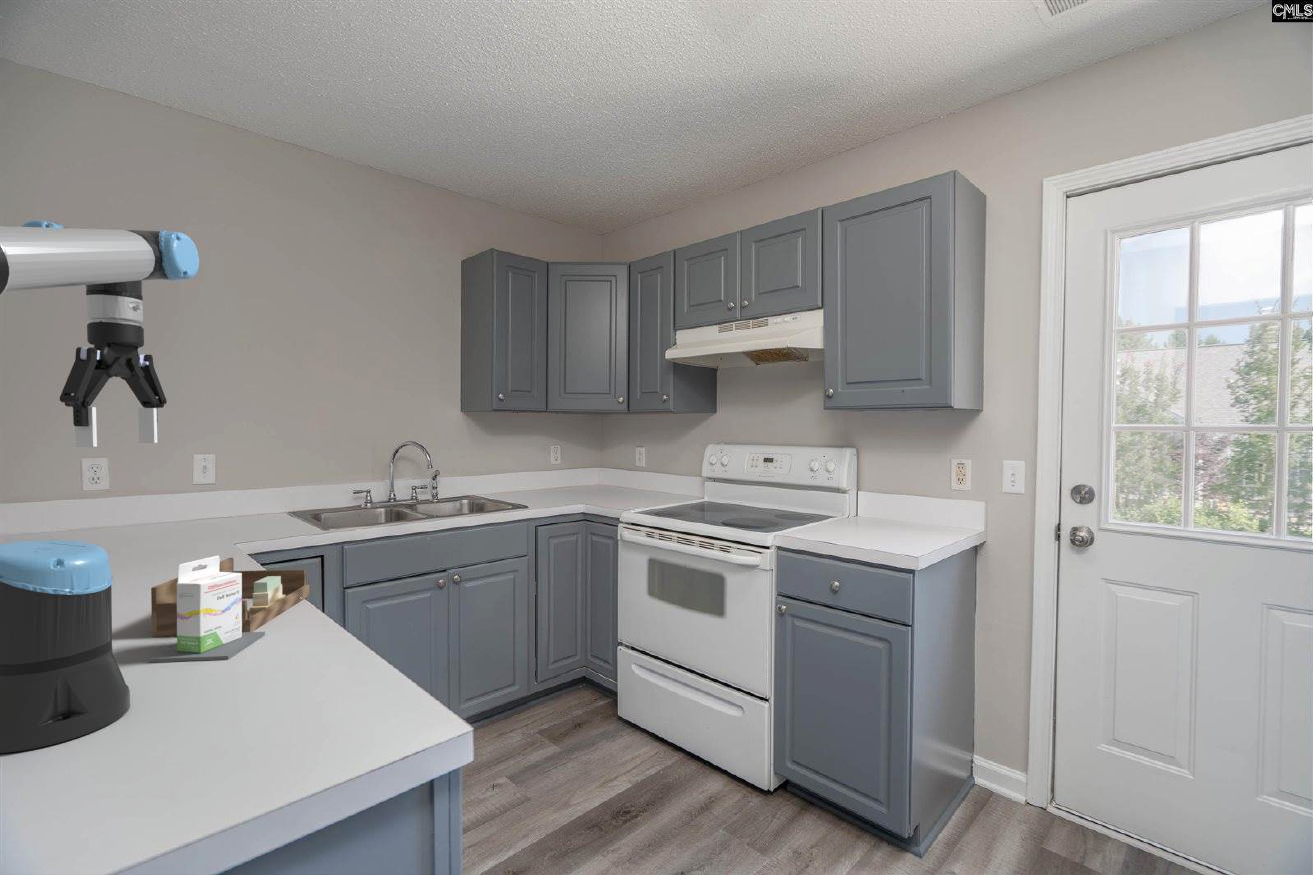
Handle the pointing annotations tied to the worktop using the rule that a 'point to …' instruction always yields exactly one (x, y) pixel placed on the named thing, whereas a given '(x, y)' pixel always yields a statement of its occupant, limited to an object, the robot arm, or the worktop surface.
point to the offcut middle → (267, 597)
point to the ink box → (207, 606)
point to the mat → (213, 654)
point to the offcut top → (267, 584)
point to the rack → (291, 588)
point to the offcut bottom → (261, 607)
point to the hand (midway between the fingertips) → (119, 444)
